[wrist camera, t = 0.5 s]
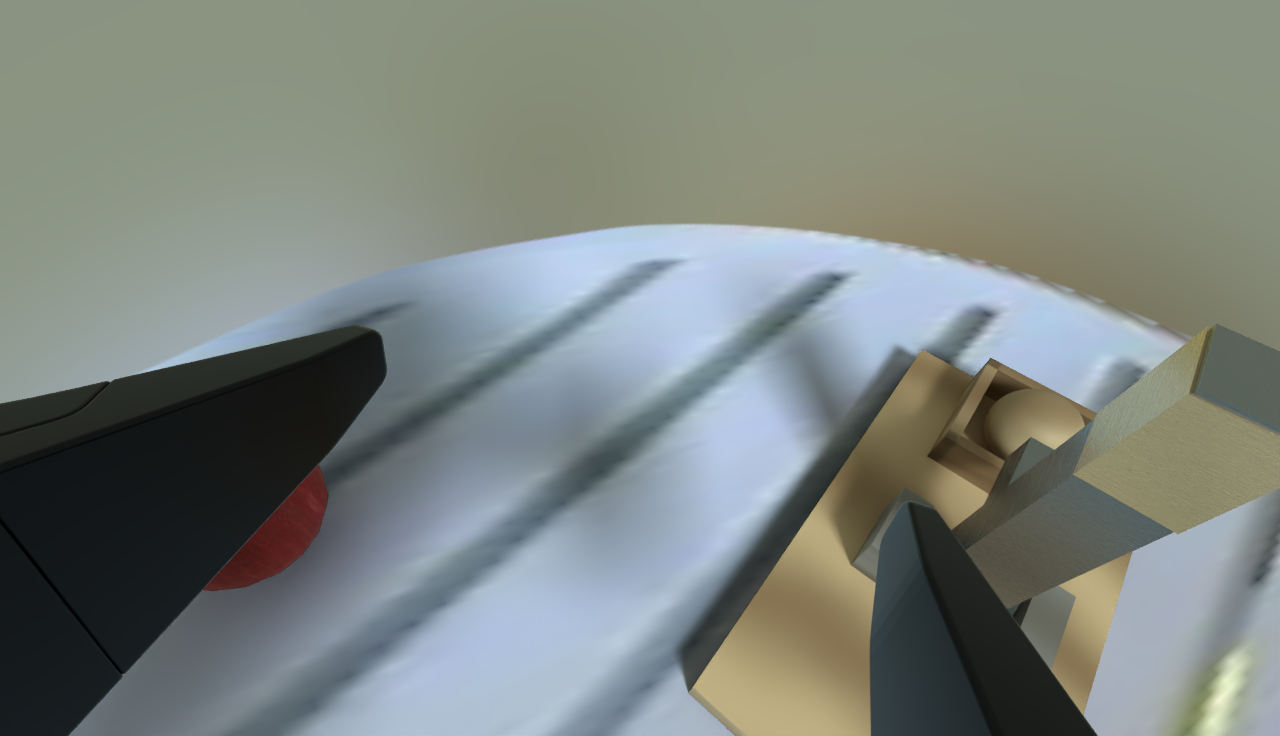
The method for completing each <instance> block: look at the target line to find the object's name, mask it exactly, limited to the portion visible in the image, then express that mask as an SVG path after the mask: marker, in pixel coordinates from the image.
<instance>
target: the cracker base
mask: <svg viewBox="0 0 1280 736" xmlns="http://www.w3.org/2000/svg"><path fill="white" fill-rule="evenodd" d="M1023 389H1040V390H1046V391H1050V392H1053V393H1055V394H1058V395H1059V396H1061V397H1063V398H1065V399H1066V400H1068V401H1069V402H1070V403H1071V404H1072V405H1073V406H1074V407H1075V408H1076V409H1077V410H1078V412H1079V413H1080V415H1081V417H1082V419H1083V421H1084V424H1085V426H1086V425H1087V424H1088V423H1090V422H1091V421H1092V420H1094V419H1095V418H1096V415H1097V413H1095V412H1093V411H1091V410H1089V409H1087V408H1085V407H1084V406H1082V405H1080V404H1078V403H1076V402H1074V401H1072V400H1070V399H1068V398H1066V397H1064V396H1063V395H1061V394H1059V393H1057V392H1055V391H1053V390H1051V389H1049V388H1047V387H1045V386H1043V385H1042V384H1040V383H1038V382H1036V381H1034V380H1032V379H1030V378H1028V377H1026V376H1024V375H1023V374H1021V373H1019V372H1017V371H1015V370H1013V369H1011V368H1009V367H1007V366H1005V365H1003V364H1002V363H1000V362H998V361H996V360H994V359H992V358H990V359H989V361H988V362H987V363H986V364H985V365H984V366H983V368H982V369H981V370H980V371H979V372H978V373H977V374H976V376H975V377H972V376H970V375H968V374H966V373H964V372H963V371H961V370H959V369H957V368H955V367H953V366H951V365H950V364H948V363H946V362H944V361H942V360H940V359H939V358H937V357H935V356H933V355H931V354H929V353H928V352H926V351H924V350H922V351H921V352H920V353H919V355H918V356H917V358H916V359H915V361H914V362H913V364H912V365H911V366H910V368H909V369H908V371H907V372H906V374H905V375H904V377H903V378H902V380H901V381H900V383H899V384H898V386H897V387H896V388H895V390H894V391H893V393H892V394H891V396H890V397H889V399H888V400H887V402H886V403H885V405H884V406H883V408H882V409H881V411H880V412H879V414H878V415H877V416H876V418H875V419H874V421H873V422H872V424H871V425H870V427H869V428H868V430H867V431H866V433H865V434H864V436H863V437H862V439H861V440H860V441H859V443H858V444H857V446H856V447H855V449H854V450H853V452H852V453H851V455H850V456H849V458H848V459H847V461H846V462H845V464H844V465H843V466H842V468H841V469H840V471H839V472H838V474H837V475H836V477H835V478H834V480H833V481H832V483H831V484H830V486H829V487H828V489H827V490H826V491H825V493H824V494H823V496H822V497H821V499H820V500H819V502H818V503H817V505H816V506H815V508H814V509H813V511H812V512H811V514H810V515H809V517H808V518H807V519H806V521H805V522H804V524H803V525H802V527H801V528H800V530H799V531H798V533H797V534H796V536H795V537H794V539H793V540H792V542H791V543H790V544H789V546H788V547H787V549H786V550H785V552H784V553H783V555H782V556H781V558H780V559H779V561H778V562H777V564H776V565H775V567H774V568H773V569H772V571H771V572H770V574H769V575H768V577H767V578H766V580H765V581H764V583H763V584H762V586H761V587H760V589H759V590H758V592H757V593H756V595H755V596H754V597H753V599H752V600H751V602H750V603H749V605H748V606H747V608H746V609H745V611H744V612H743V614H742V615H741V617H740V618H739V620H738V621H737V622H736V624H735V625H734V627H733V628H732V630H731V631H730V633H729V634H728V636H727V637H726V639H725V640H724V642H723V643H722V645H721V646H720V647H719V649H718V650H717V652H716V653H715V655H714V656H713V658H712V659H711V661H710V662H709V664H708V665H707V667H706V668H705V670H704V671H703V672H702V674H701V675H700V677H699V678H698V680H697V681H696V683H695V684H694V686H693V687H692V689H691V690H690V692H689V694H690V695H692V696H693V697H694V698H695V699H696V700H697V701H698V702H699V703H700V704H701V705H702V706H704V707H705V708H706V709H707V710H708V711H709V712H710V713H711V714H712V715H713V716H715V717H716V718H717V719H718V720H719V721H720V722H721V723H722V724H723V725H724V726H725V727H727V728H728V729H729V730H730V731H731V732H732V733H733V734H734V735H735V736H871V721H870V661H869V656H870V632H871V622H872V613H873V603H874V594H875V585H876V575H877V566H878V557H879V548H880V543H881V540H882V537H883V535H884V533H885V531H886V530H887V528H888V526H889V525H890V523H891V521H892V520H893V518H894V516H895V515H896V513H897V511H898V510H899V508H900V506H901V505H902V504H903V503H904V502H905V501H914V502H917V503H920V504H923V505H927V506H930V507H932V508H934V509H936V510H937V511H938V513H939V514H940V515H941V517H942V518H943V519H944V521H945V522H946V524H947V525H948V526H949V528H950V529H951V530H952V529H953V528H955V527H956V526H957V525H959V524H960V523H961V522H962V521H964V520H965V519H966V518H968V517H969V516H970V515H971V514H973V513H974V512H975V511H977V510H978V509H979V508H980V507H982V506H983V505H984V503H985V501H986V499H987V497H988V495H989V493H990V491H991V489H992V487H993V485H994V483H995V481H996V479H997V476H998V474H999V472H1000V470H1001V468H1002V466H1003V464H1004V462H1005V461H1004V460H1002V459H1001V458H999V457H997V456H996V455H995V454H994V453H993V451H992V450H991V448H990V447H989V445H988V443H987V440H986V437H985V431H984V425H985V420H986V416H987V414H988V412H989V410H990V409H991V407H992V406H993V405H994V404H995V403H996V402H997V401H998V400H999V399H1000V398H1002V397H1004V396H1005V395H1007V394H1009V393H1012V392H1015V391H1018V390H1023ZM1131 554H1132V552H1130V553H1127V554H1125V555H1123V556H1121V557H1119V558H1117V559H1114V560H1112V561H1110V562H1108V563H1106V564H1104V565H1102V566H1099V567H1097V568H1095V569H1093V570H1091V571H1089V572H1086V573H1084V574H1082V575H1080V576H1078V577H1076V578H1073V579H1071V580H1069V581H1067V582H1065V583H1063V584H1060V585H1058V586H1056V587H1054V588H1052V589H1050V590H1047V591H1045V592H1043V593H1041V594H1039V595H1037V596H1034V597H1032V598H1030V599H1028V600H1026V601H1024V602H1021V603H1020V605H1019V606H1018V608H1017V610H1016V611H1015V613H1014V614H1013V618H1014V619H1015V620H1016V622H1017V623H1018V625H1019V626H1020V627H1021V629H1022V630H1023V632H1024V633H1025V634H1026V636H1027V637H1028V639H1029V640H1030V641H1031V643H1032V644H1033V646H1034V647H1035V648H1036V650H1037V651H1038V653H1039V654H1040V655H1041V657H1042V658H1043V660H1044V661H1045V662H1046V664H1047V665H1048V667H1049V668H1050V669H1051V671H1052V672H1053V674H1054V675H1055V676H1056V678H1057V679H1058V681H1059V682H1060V683H1061V685H1062V686H1063V688H1064V689H1065V690H1066V692H1067V693H1068V695H1069V696H1070V697H1071V699H1072V700H1073V702H1074V703H1075V704H1076V706H1077V707H1078V709H1079V710H1080V711H1081V713H1082V714H1084V711H1085V708H1086V704H1087V701H1088V698H1089V694H1090V691H1091V688H1092V684H1093V681H1094V678H1095V674H1096V671H1097V668H1098V664H1099V661H1100V658H1101V654H1102V651H1103V648H1104V644H1105V641H1106V638H1107V634H1108V631H1109V628H1110V624H1111V621H1112V618H1113V614H1114V611H1115V608H1116V604H1117V601H1118V598H1119V594H1120V591H1121V588H1122V584H1123V581H1124V578H1125V574H1126V571H1127V568H1128V564H1129V561H1130V558H1131Z"/></svg>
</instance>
